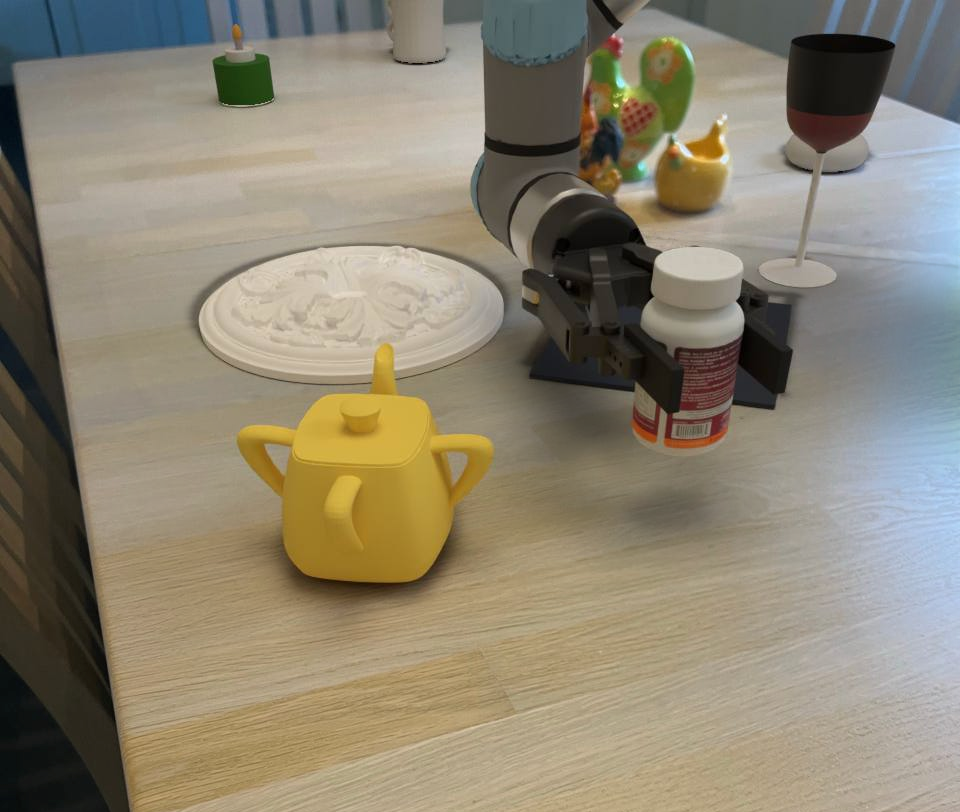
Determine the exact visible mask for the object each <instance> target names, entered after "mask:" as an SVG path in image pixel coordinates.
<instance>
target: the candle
mask: <svg viewBox="0 0 960 812" xmlns="http://www.w3.org/2000/svg"><path fill="white" fill-rule="evenodd" d="M231 36H232V39H233V41H234V46H231V47H227V48H225V49H224V55H220V56H217V57H215V58H214V59H212V67H213V73H214V79H215V85H216V89H217V97H218V102H219V101H220V102H221V103H224V104H228V105H255V104H261V103H265V102H268V101H271V100H272V99H273V98H274V99H275V92H274V84H273V76H272V69H271V62H270V57H269V55H266V54H263V53H255V52H256V51H255V48H254V47H252V46H248V45H246V46H244V45H243V31H242V29H241V27H240V25H238V24H237V23H235V24H234V25H233V26H232V30H231Z"/></svg>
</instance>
